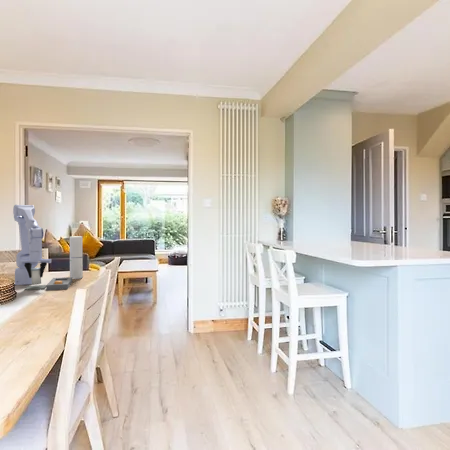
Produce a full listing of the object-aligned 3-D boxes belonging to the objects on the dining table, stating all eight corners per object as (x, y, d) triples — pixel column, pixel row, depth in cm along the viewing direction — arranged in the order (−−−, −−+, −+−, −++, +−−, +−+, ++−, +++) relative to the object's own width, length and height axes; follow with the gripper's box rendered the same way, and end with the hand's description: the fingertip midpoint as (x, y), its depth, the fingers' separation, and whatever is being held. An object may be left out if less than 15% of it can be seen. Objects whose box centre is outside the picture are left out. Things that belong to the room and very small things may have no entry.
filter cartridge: (30, 284, 185) (29, 269, 185) (32, 283, 189) (31, 268, 189) (40, 284, 186) (40, 268, 186) (42, 282, 191) (41, 267, 190)
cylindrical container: (78, 279, 214) (77, 237, 214) (67, 278, 216) (67, 236, 215) (85, 277, 221) (84, 236, 221) (74, 276, 223) (74, 236, 222)
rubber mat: (24, 290, 182) (24, 289, 182) (28, 286, 191) (28, 285, 191) (44, 289, 185) (44, 288, 185) (47, 286, 193) (47, 284, 193)
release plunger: (54, 287, 186) (53, 282, 186) (55, 286, 189) (55, 280, 189) (61, 287, 187) (61, 281, 187) (62, 286, 190) (62, 280, 190)
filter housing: (46, 290, 183) (46, 285, 183) (53, 282, 204) (53, 277, 204) (67, 289, 186) (67, 284, 186) (72, 281, 207) (72, 277, 207)
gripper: (17, 252, 181) (18, 279, 182) (49, 251, 185) (50, 278, 186) (21, 251, 188) (21, 277, 188) (52, 250, 192) (52, 275, 193)
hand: (35, 277), depth 188 cm, fingers closed on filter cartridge, 4 cm apart
